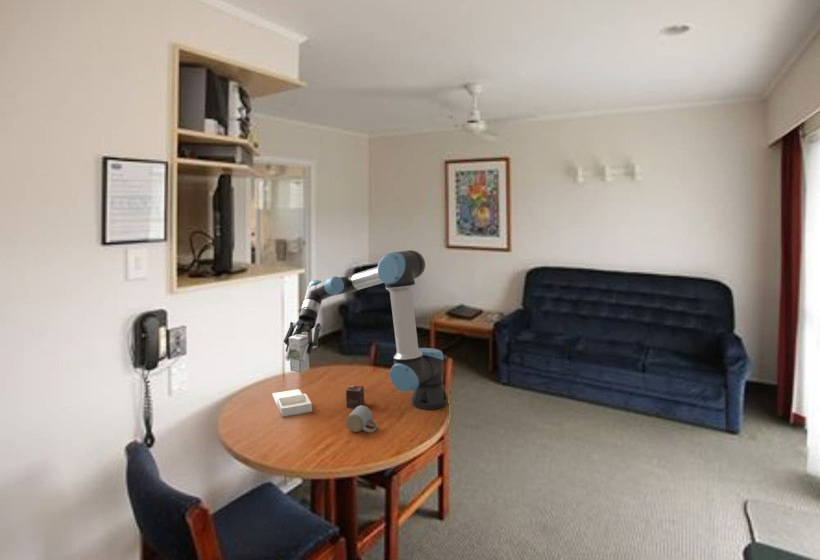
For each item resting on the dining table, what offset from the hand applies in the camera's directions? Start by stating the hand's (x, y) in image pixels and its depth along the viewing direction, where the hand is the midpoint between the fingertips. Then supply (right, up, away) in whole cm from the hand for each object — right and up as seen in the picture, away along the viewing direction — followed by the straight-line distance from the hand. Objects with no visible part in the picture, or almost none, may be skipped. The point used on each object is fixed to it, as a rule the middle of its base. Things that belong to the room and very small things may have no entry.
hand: (295, 359), depth 197 cm
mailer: (-4, -20, +8) cm, 22 cm away
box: (+24, -20, +5) cm, 31 cm away
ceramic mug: (+29, -23, -18) cm, 41 cm away
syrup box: (+1, -5, +4) cm, 7 cm away
